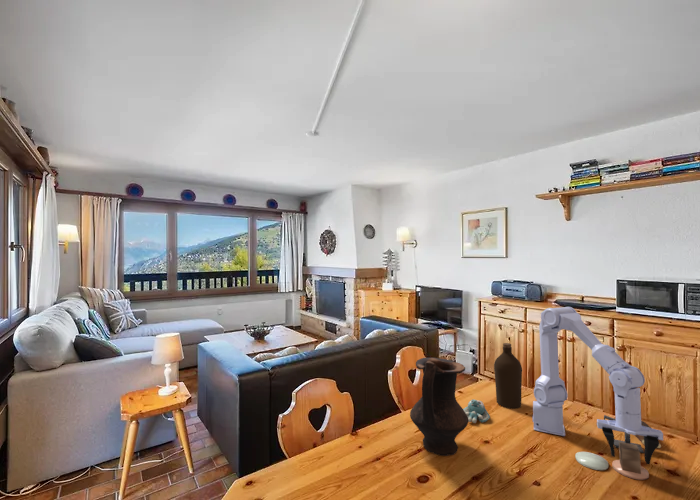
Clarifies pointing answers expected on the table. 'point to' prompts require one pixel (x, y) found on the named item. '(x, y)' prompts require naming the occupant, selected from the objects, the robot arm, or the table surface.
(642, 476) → the pink disc
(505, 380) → the olive oil
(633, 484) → the table surface
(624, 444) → the walnut block
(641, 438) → the brick
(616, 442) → the balance
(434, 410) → the jug
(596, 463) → the sage dish
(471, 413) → the stuffed animal
